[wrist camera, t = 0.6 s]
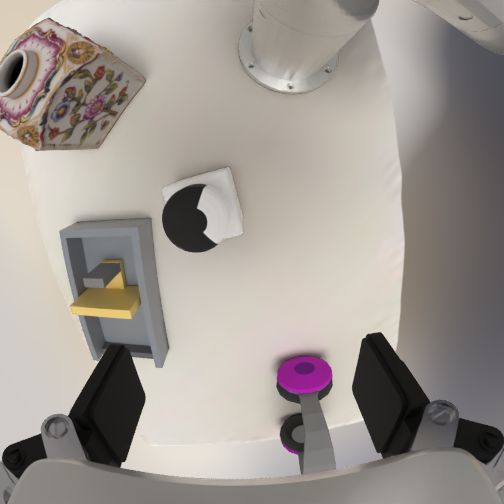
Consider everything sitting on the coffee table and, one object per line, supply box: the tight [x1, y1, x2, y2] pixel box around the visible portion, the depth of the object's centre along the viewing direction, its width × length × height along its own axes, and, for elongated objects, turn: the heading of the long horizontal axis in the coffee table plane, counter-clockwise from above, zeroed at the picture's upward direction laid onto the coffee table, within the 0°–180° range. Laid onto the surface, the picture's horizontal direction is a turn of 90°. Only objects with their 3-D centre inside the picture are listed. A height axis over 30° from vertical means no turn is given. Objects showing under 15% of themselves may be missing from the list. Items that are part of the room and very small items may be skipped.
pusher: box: [70, 259, 142, 319], centre depth 34 cm, size 5×9×7 cm, turn 90°
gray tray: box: [59, 218, 169, 368], centre depth 37 cm, size 21×12×5 cm, turn 0°
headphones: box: [276, 356, 336, 475], centre depth 38 cm, size 21×9×20 cm, turn 6°
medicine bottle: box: [162, 167, 243, 252], centre depth 30 cm, size 7×7×12 cm
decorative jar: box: [0, 18, 145, 151], centre depth 22 cm, size 12×12×18 cm
